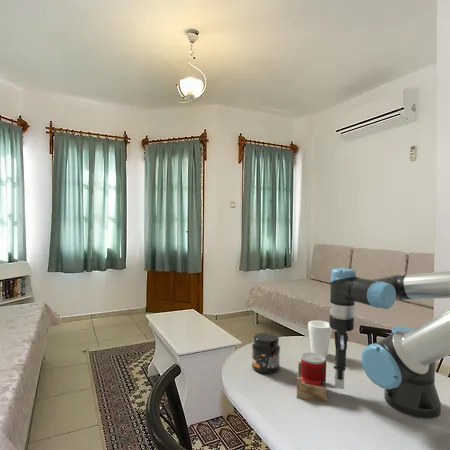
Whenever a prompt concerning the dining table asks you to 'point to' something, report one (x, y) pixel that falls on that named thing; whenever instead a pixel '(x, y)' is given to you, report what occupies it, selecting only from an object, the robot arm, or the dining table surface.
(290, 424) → the dining table surface
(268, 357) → the supplement container
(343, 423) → the dining table surface
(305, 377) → the canned food
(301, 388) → the chute
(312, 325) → the foam cup
